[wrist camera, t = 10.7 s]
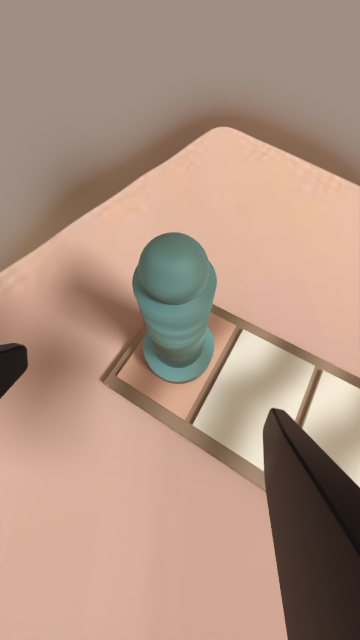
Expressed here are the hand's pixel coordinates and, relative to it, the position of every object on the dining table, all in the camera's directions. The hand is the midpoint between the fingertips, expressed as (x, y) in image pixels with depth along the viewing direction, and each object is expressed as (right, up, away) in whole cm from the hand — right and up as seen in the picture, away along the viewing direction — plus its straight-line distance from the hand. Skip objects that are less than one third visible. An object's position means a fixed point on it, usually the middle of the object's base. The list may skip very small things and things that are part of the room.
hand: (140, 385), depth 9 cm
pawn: (+1, 0, +12) cm, 12 cm away
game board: (+7, -4, +11) cm, 14 cm away
